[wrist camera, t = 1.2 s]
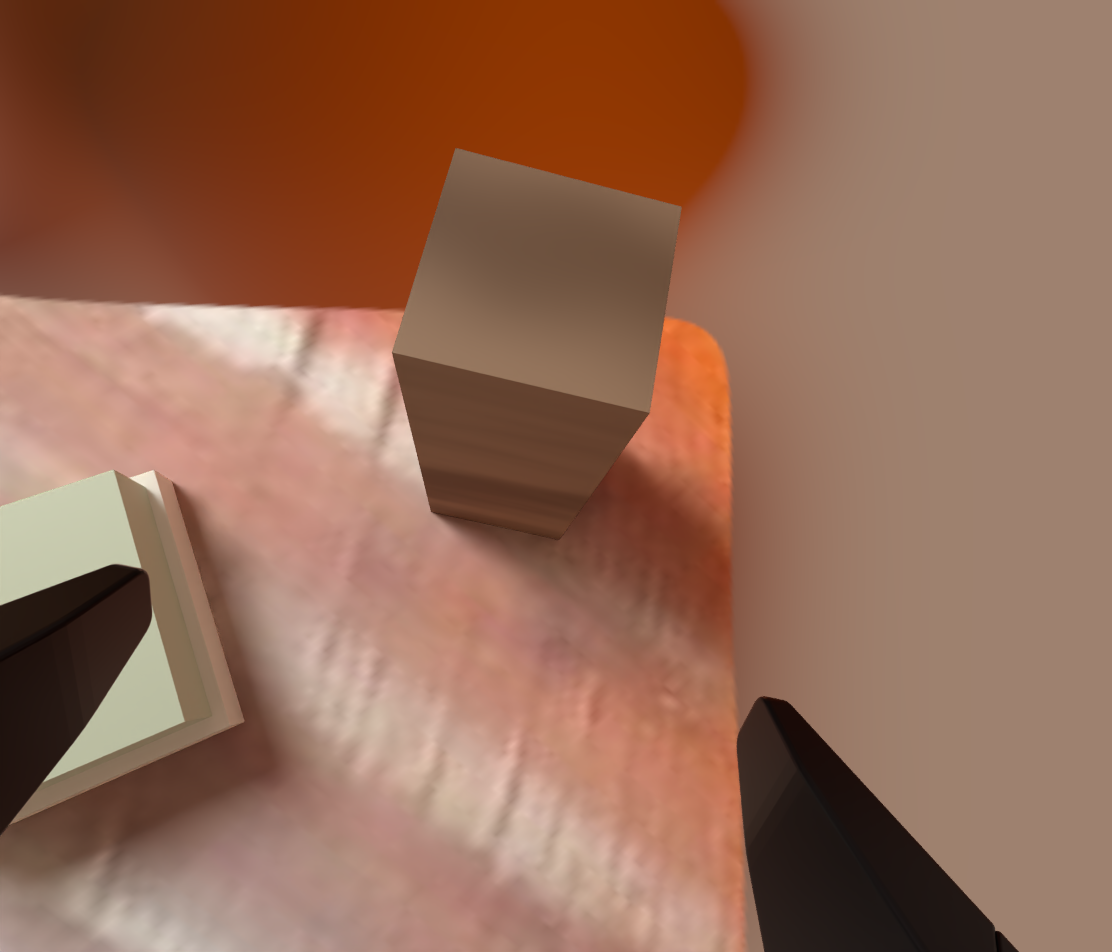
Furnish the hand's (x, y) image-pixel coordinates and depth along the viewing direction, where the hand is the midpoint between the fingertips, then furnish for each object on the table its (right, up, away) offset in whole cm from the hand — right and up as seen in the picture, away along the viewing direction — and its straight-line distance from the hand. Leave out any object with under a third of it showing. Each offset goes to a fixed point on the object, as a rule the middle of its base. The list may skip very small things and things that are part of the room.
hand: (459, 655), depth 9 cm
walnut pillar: (0, +3, +15) cm, 16 cm away
